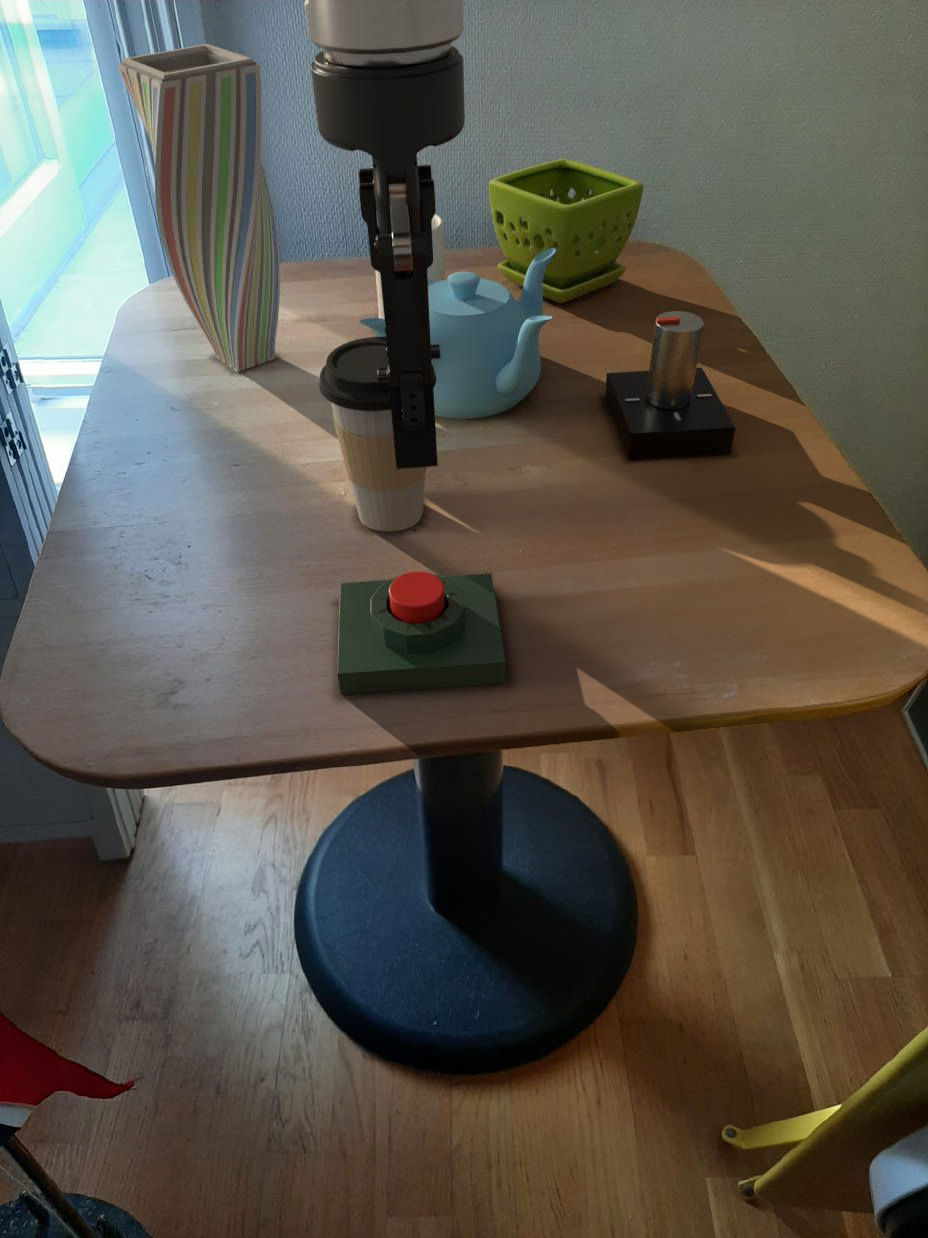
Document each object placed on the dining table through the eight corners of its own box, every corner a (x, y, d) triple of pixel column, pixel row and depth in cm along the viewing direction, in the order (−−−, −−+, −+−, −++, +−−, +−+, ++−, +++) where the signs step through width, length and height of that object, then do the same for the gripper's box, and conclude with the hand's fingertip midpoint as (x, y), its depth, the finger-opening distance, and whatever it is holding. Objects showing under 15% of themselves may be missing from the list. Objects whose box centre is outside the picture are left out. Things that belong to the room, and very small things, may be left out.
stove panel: (730, 454, 89) (736, 425, 87) (628, 460, 89) (631, 432, 86) (697, 393, 98) (702, 365, 96) (604, 398, 97) (606, 371, 95)
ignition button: (446, 622, 67) (445, 604, 66) (391, 626, 67) (389, 608, 66) (442, 587, 70) (442, 569, 69) (390, 590, 70) (388, 572, 68)
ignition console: (505, 683, 67) (505, 643, 65) (340, 695, 67) (334, 655, 64) (491, 593, 75) (491, 554, 72) (343, 603, 74) (337, 565, 71)
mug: (359, 307, 115) (348, 207, 107) (421, 293, 118) (416, 195, 110) (393, 345, 107) (385, 241, 99) (460, 330, 110) (457, 227, 102)
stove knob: (684, 385, 93) (696, 306, 87) (696, 408, 90) (709, 326, 84) (641, 388, 93) (651, 309, 87) (651, 410, 89) (662, 329, 84)
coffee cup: (457, 529, 81) (452, 372, 71) (354, 555, 79) (334, 397, 68) (421, 474, 88) (412, 323, 77) (325, 496, 85) (302, 344, 75)
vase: (221, 399, 99) (150, 84, 79) (165, 355, 107) (88, 58, 86) (327, 359, 105) (287, 58, 85) (267, 321, 113) (217, 36, 93)
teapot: (553, 432, 93) (559, 315, 84) (369, 430, 94) (357, 315, 85) (550, 352, 105) (555, 244, 97) (388, 352, 106) (379, 244, 98)
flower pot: (560, 316, 112) (566, 208, 104) (484, 282, 120) (483, 179, 111) (637, 283, 119) (648, 179, 110) (560, 253, 127) (565, 154, 118)
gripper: (313, 25, 50) (359, 415, 65) (302, 82, 40) (359, 524, 56) (452, 18, 50) (464, 408, 66) (475, 73, 40) (483, 514, 56)
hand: (416, 461), depth 61 cm, fingers closed
